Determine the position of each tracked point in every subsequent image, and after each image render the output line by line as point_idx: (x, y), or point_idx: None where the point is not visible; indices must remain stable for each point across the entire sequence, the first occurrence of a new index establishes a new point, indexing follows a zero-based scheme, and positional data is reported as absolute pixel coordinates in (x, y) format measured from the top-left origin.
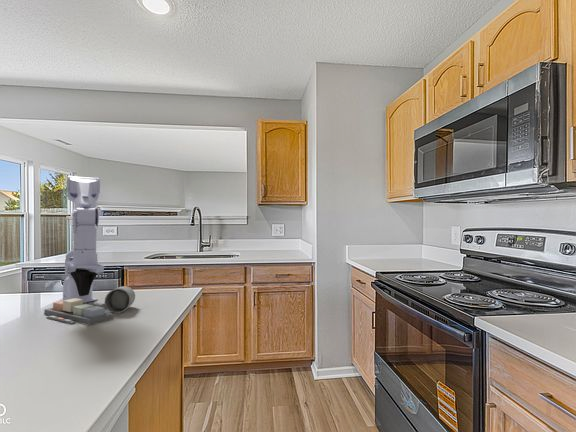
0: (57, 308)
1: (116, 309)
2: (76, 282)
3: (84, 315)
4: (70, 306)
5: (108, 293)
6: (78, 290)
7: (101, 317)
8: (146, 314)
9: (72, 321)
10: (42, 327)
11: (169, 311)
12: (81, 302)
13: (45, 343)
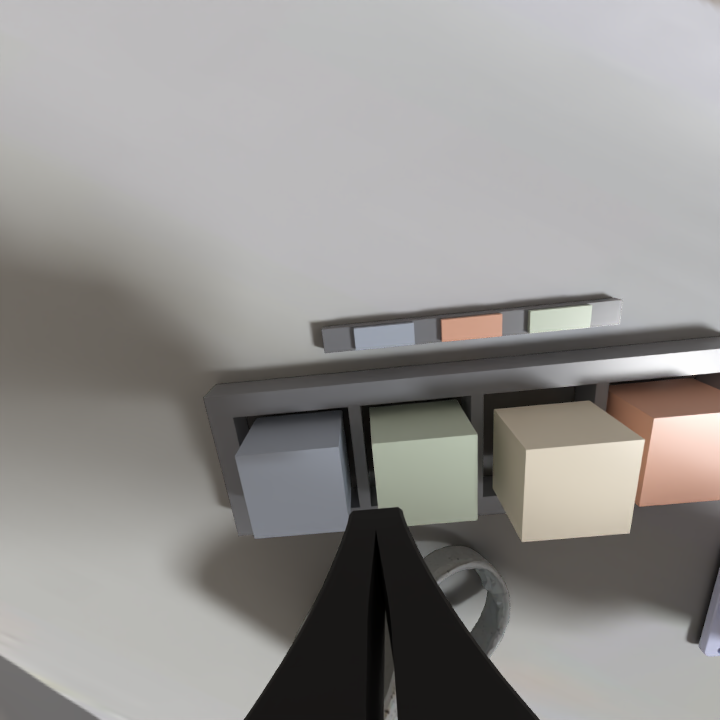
0: (662, 396)
1: None
2: (433, 644)
3: (330, 423)
4: (512, 429)
5: (390, 690)
6: (391, 544)
7: (222, 467)
8: (193, 635)
9: (341, 345)
10: (414, 178)
11: (160, 707)
12: (513, 513)
13: (7, 13)
